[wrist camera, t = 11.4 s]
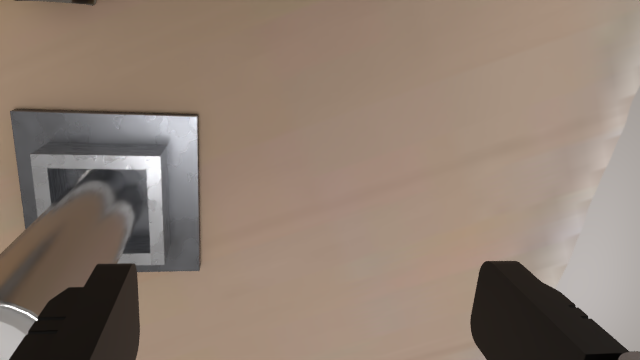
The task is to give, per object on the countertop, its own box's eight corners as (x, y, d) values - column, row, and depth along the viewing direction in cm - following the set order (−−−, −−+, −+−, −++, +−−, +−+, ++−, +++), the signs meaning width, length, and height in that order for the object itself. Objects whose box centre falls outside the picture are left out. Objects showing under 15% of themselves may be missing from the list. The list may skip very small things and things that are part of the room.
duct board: (16, 108, 44) (-12, 119, 39) (198, 114, 47) (193, 125, 42) (36, 268, 49) (13, 295, 44) (200, 265, 52) (196, 290, 47)
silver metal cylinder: (83, 230, 47) (-72, 436, 24) (68, 166, 45) (-117, 322, 22) (152, 223, 48) (68, 415, 25) (141, 159, 46) (38, 303, 23)
